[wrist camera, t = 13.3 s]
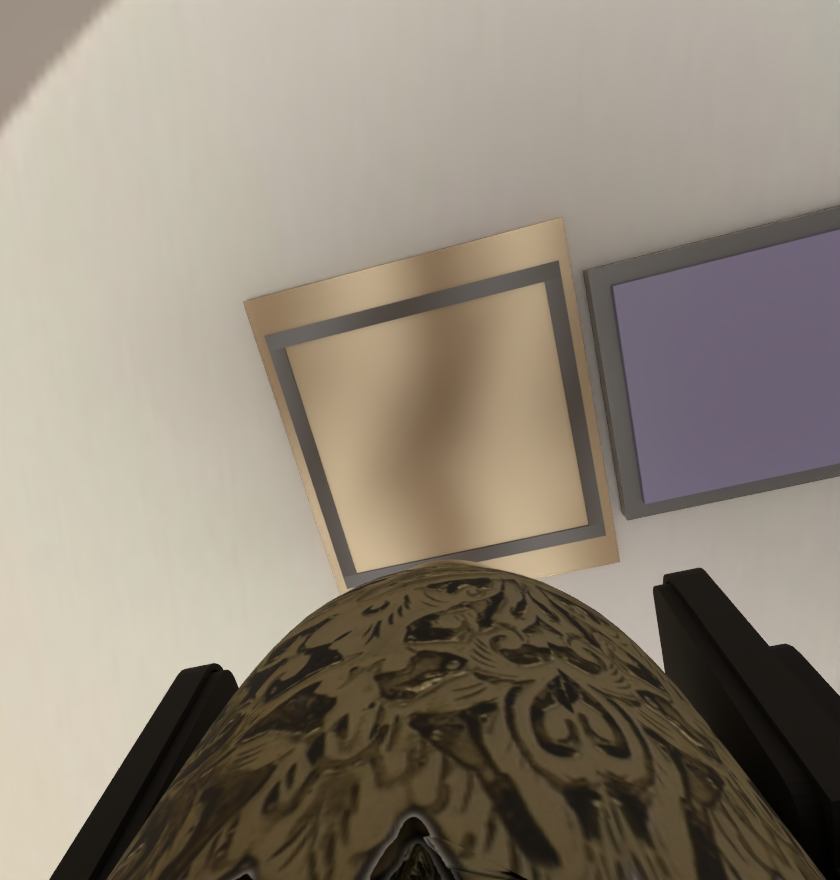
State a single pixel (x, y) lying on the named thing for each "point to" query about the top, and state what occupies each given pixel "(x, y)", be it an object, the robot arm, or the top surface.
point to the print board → (444, 410)
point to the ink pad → (722, 364)
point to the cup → (461, 753)
